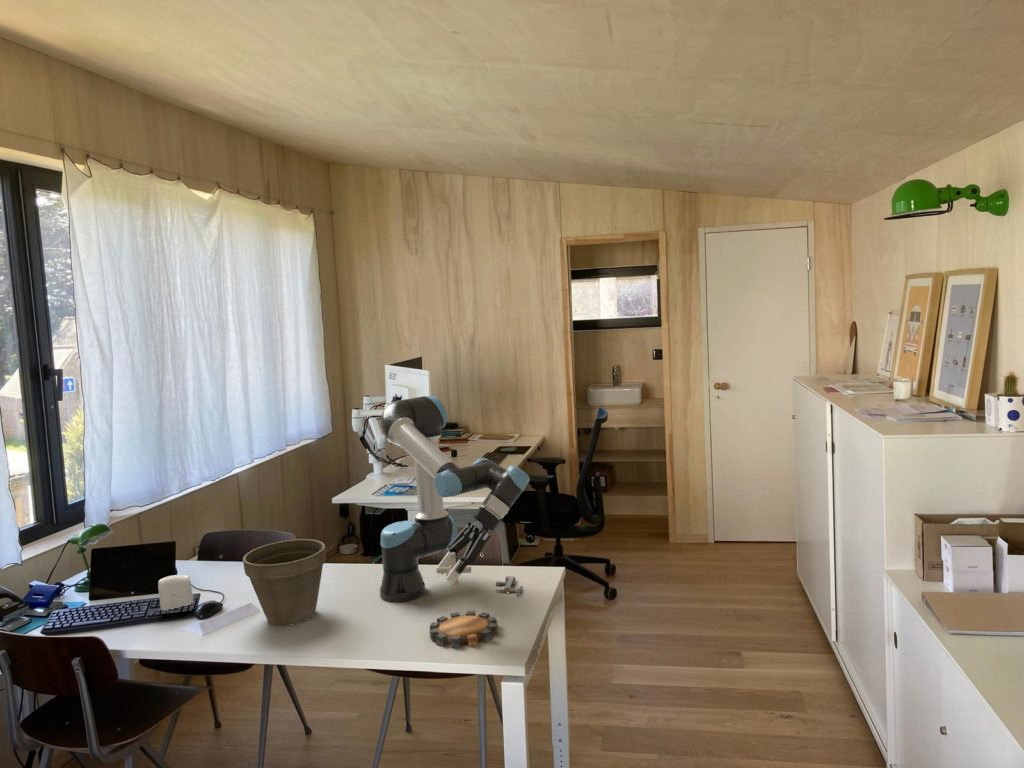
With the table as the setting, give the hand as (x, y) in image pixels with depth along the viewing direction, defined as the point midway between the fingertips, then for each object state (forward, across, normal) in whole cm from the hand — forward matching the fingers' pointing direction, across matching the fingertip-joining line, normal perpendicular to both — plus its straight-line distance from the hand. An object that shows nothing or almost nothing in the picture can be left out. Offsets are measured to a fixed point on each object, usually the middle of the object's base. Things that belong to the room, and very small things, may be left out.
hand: (444, 576), depth 221 cm
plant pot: (+39, +39, +16) cm, 58 cm away
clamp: (-8, +24, -33) cm, 42 cm away
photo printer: (+62, +65, +40) cm, 99 cm away
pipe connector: (+1, 0, -5) cm, 5 cm away
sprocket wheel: (+9, -2, -15) cm, 18 cm away
